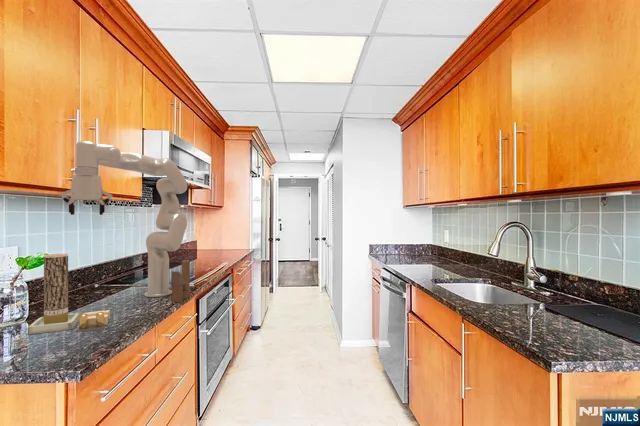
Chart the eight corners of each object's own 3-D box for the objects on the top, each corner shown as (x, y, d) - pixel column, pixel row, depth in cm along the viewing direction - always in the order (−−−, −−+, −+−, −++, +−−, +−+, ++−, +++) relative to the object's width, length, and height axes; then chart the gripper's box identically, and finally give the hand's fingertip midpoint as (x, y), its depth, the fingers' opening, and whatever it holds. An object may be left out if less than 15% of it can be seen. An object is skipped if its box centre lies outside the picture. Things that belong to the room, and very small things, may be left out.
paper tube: (48, 322, 120) (48, 254, 120) (70, 320, 122) (70, 253, 122) (40, 328, 114) (40, 256, 113) (64, 326, 116) (64, 255, 116)
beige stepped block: (85, 321, 124) (85, 312, 124) (109, 319, 128) (109, 310, 128) (80, 329, 116) (80, 319, 116) (106, 326, 120) (106, 316, 120)
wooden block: (171, 302, 151) (171, 263, 151) (184, 296, 162) (184, 259, 162) (178, 302, 151) (179, 263, 151) (191, 296, 161) (191, 260, 161)
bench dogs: (78, 328, 116) (78, 314, 116) (105, 325, 119) (105, 311, 119) (75, 332, 112) (75, 318, 112) (103, 329, 115) (103, 314, 115)
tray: (39, 324, 120) (39, 317, 120) (79, 319, 126) (79, 313, 126) (27, 334, 110) (27, 327, 110) (71, 329, 115) (71, 322, 115)
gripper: (58, 170, 126) (57, 214, 125) (111, 172, 133) (110, 214, 133) (63, 172, 132) (63, 214, 132) (113, 174, 140) (113, 214, 140)
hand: (87, 214), depth 133 cm, fingers open, 9 cm apart
